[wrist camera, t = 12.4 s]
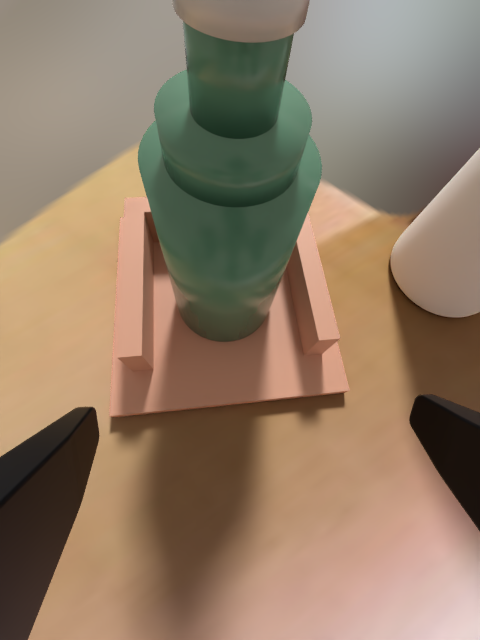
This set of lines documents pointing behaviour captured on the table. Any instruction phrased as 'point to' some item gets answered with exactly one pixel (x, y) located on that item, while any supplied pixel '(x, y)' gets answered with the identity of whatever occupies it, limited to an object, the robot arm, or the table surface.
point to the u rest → (212, 356)
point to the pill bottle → (444, 249)
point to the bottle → (230, 163)
